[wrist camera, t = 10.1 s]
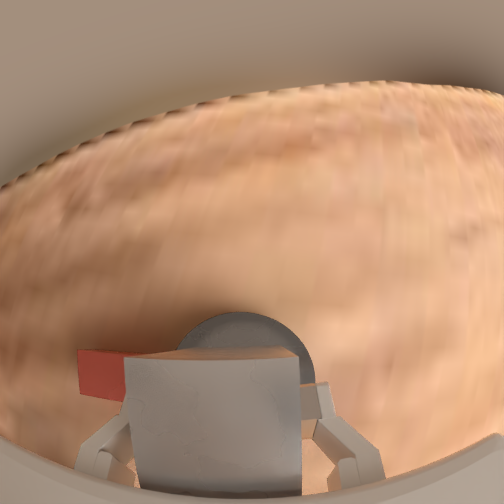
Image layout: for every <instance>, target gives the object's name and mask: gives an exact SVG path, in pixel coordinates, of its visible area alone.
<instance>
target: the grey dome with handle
mask: <svg viewBox="0 0 504 504" xmlns="http://www.w3.org/2000/svg"><path fill="white" fill-rule="evenodd" d="M262 345H281V346H283V347H284V348H286V349H287V350H289V351H291V352H292V353H294V354H295V355H297V356H299V373H300V385H302V384H310V383H315V372H314V367H313V363H312V360H311V358H310V355H309V353H308V351H307V349H306V348H305V346H304V344H303V343H302V342H301V341H300V339H299V338H298V337H297V336H296V335H295V334H294V333H293V332H292V331H291V330H290V329H288V328H287V327H286V326H284V325H283V324H281V323H279V322H278V321H276V320H274V319H271V318H269V317H266V316H263V315H259V314H255V313H248V312H234V313H226V314H222V315H218V316H215V317H213V318H210V319H208V320H206V321H204V322H202V323H201V324H199V325H198V326H196V327H195V328H194V329H192V330H191V331H190V332H189V333H188V334H187V335H186V336H185V338H184V339H183V340H182V341H181V343H180V344H179V346H178V348H177V349H176V350H181V349H188V348H194V347H239V346H262ZM146 354H147V353H131V352H117V351H106V350H96V349H90V350H77V356H78V374H79V387H80V394H83V395H88V396H93V397H98V398H104V399H110V400H116V401H122V402H123V401H124V398H125V394H126V385H125V371H124V357H130V356H138V355H146Z"/></svg>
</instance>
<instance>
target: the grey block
mask: <svg viewBox="0 0 504 504" xmlns="http://www.w3.org/2000/svg"><path fill="white" fill-rule="evenodd" d="M124 371H125V385H126V397H127V408H128V417H129V425H130V432H131V439H132V446H133V452H134V458H135V463H136V469H137V474H138V479H139V483H140V488H141V489H146V490H151V491H157V492H163V493H169V494H177V495H185V496H194V497H205V498H222V499H265V498H282V497H294V496H302V436H301V398H300V373H299V356H297V355H295V354H294V353H292V352H291V351H289V350H287V349H286V348H284V347H283V346H281V345H262V346H239V347H194V348H188V349H181V350H175V351H168V352H161V353H154V354H146V355H138V356H130V357H124Z"/></svg>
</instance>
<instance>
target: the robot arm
mask: <svg viewBox="0 0 504 504" xmlns="http://www.w3.org/2000/svg"><path fill="white" fill-rule="evenodd" d="M300 398H301V436H302V439H312V438H313V439H312V440H313V441H314V442H315V443H316V444H317V445H318V446H319V448H320V449H321V450H322V451H323V452H324V453H325V454H326V456H327V457H328V458H329V459H330V460H331V461H332V462H333V463H334V464H335V465H336V466H335V468H334V469H333V471H332V472H331V474H330V475H329V477H328V478H327V483H328V491H329V492H325V493H318V494H311V495H303V496H294V497H282V498H265V499H222V498H205V497H194V496H185V495H177V494H169V493H163V492H157V491H151V490H146V489H141V488H137V487H134V481H135V473H134V472H133V471H131V470H130V469H129V468H128V467H126V465H127V464H128V463H129V462H130V460H131V459H132V458H133V457H134V452H133V446H132V439H131V432H130V425H129V417H128V408H127V397H126V394H125V398H124V401H123V404H122V407H121V410H120V413H119V415H115V416H114V417H113V418H112V419H111V420H109V421H108V422H107V423H106V424H105V425H104V426H102V427H101V428H100V429H99V430H98V431H97V432H95V433H94V434H93V435H92V436H91V437H89V438H88V439H87V440H86V441H85V442H83V443H82V444H81V446H80V450H79V453H78V456H77V459H76V462H75V466H74V469H71V468H69V467H66V466H64V465H61V464H59V463H56V462H54V461H51V460H49V459H47V458H44V457H42V456H40V455H38V454H36V453H33V452H31V451H29V450H27V449H25V448H23V447H21V446H19V445H18V444H16V443H14V442H12V441H10V440H8V439H7V438H5V437H3V436H1V435H0V504H504V436H503V435H501V434H499V433H493V434H490V435H488V436H486V437H485V438H483V439H481V440H479V441H477V442H475V443H474V444H472V445H470V446H468V447H466V448H464V449H462V450H460V451H458V452H455V453H453V454H451V455H449V456H447V457H444V458H442V459H440V460H437V461H435V462H433V463H430V464H428V465H425V466H422V467H420V468H417V469H414V470H412V471H409V472H406V473H403V474H400V475H397V476H393V477H390V478H387V479H386V477H385V473H384V469H383V465H382V461H381V457H380V453H379V450H378V449H377V448H376V447H374V446H373V445H372V444H371V443H370V442H369V441H367V440H366V439H365V438H364V437H363V436H362V435H361V434H359V433H358V432H357V431H356V430H355V429H354V428H353V427H352V426H350V425H349V424H348V423H347V422H346V421H345V420H344V419H343V418H342V417H340V416H337V417H336V413H335V408H334V404H333V399H332V395H331V391H330V386H329V384H328V382H320V383H310V384H302V385H300Z"/></svg>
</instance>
